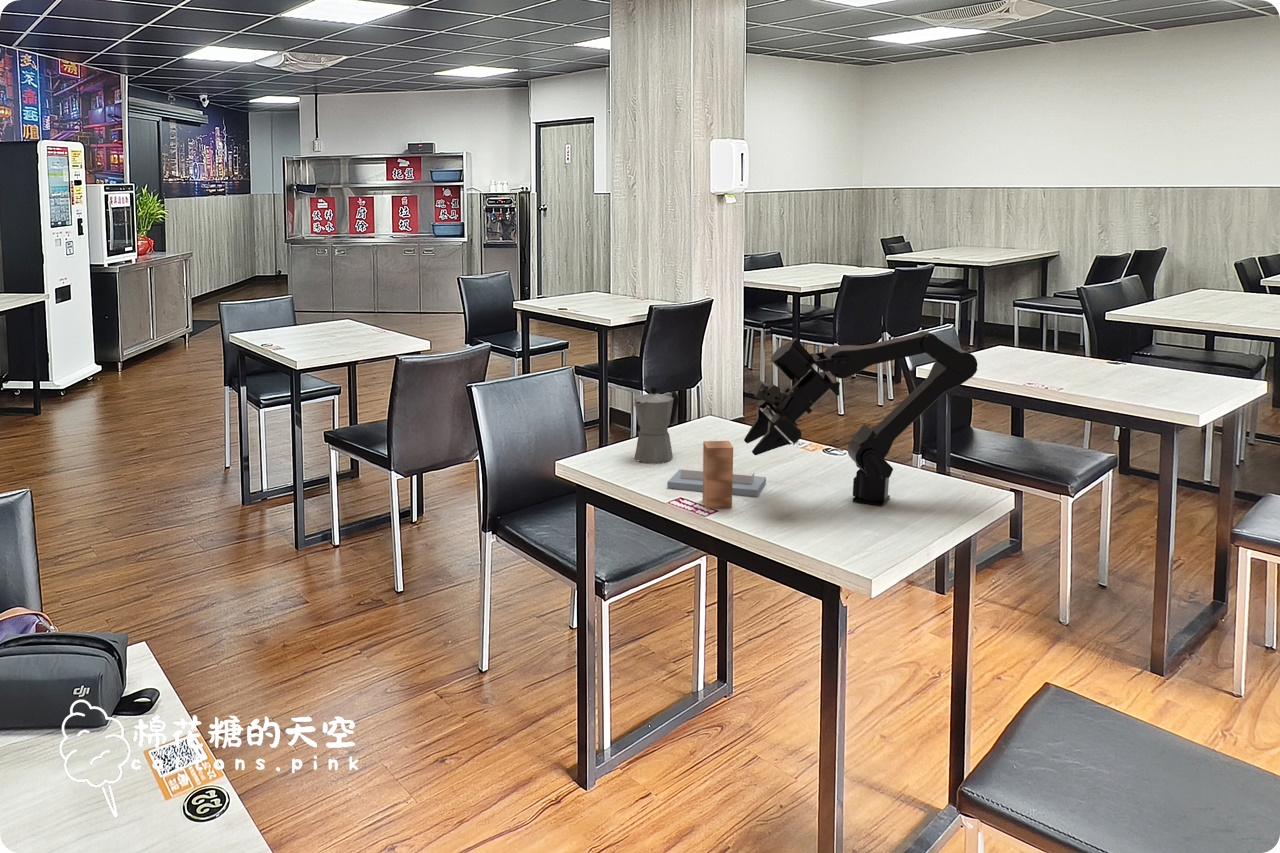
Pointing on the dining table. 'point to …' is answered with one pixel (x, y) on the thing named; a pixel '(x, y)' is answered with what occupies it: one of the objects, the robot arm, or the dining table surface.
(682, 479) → the ridge board
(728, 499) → the cherry block
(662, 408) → the coffeepot
